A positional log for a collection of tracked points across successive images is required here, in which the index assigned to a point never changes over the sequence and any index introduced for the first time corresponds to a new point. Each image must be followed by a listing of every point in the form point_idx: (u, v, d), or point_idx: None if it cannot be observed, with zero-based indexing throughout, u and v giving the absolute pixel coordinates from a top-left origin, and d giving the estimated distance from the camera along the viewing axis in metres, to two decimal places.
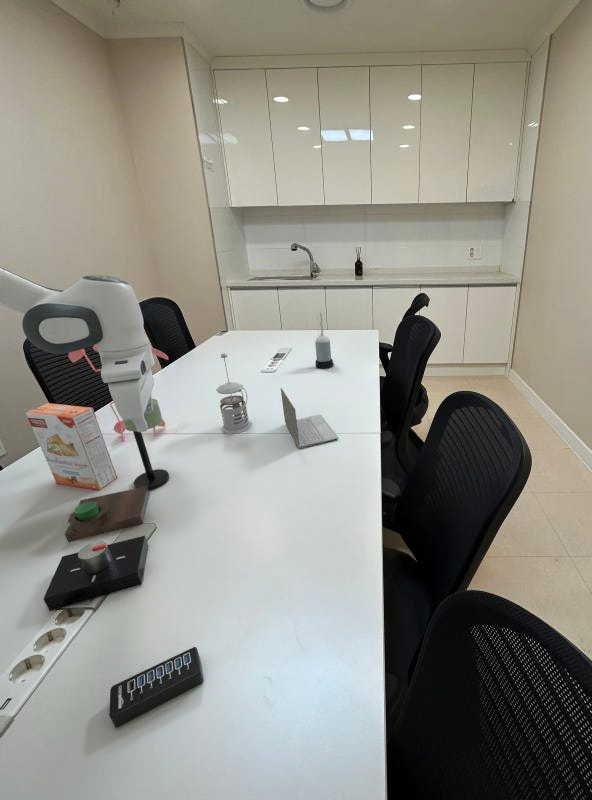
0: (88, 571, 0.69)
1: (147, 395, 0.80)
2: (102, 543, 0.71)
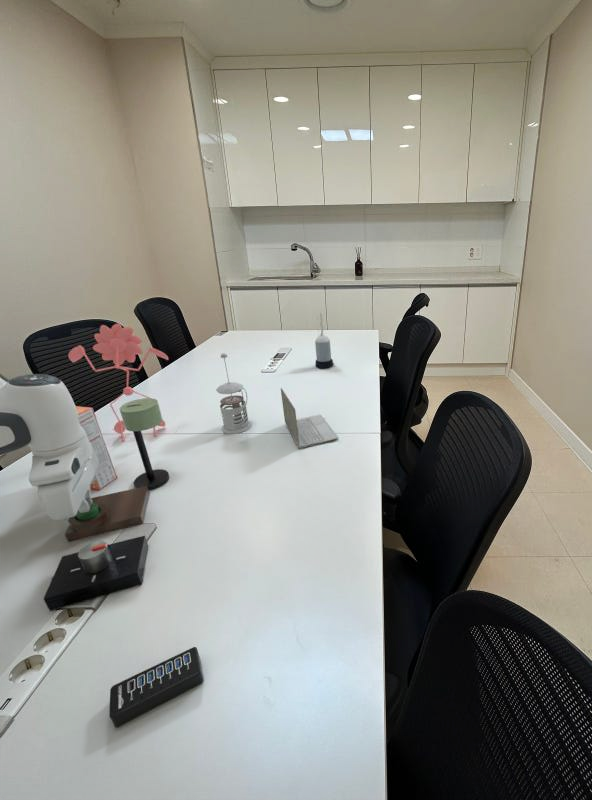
0: (88, 571, 0.69)
1: (85, 486, 0.79)
2: (102, 543, 0.71)
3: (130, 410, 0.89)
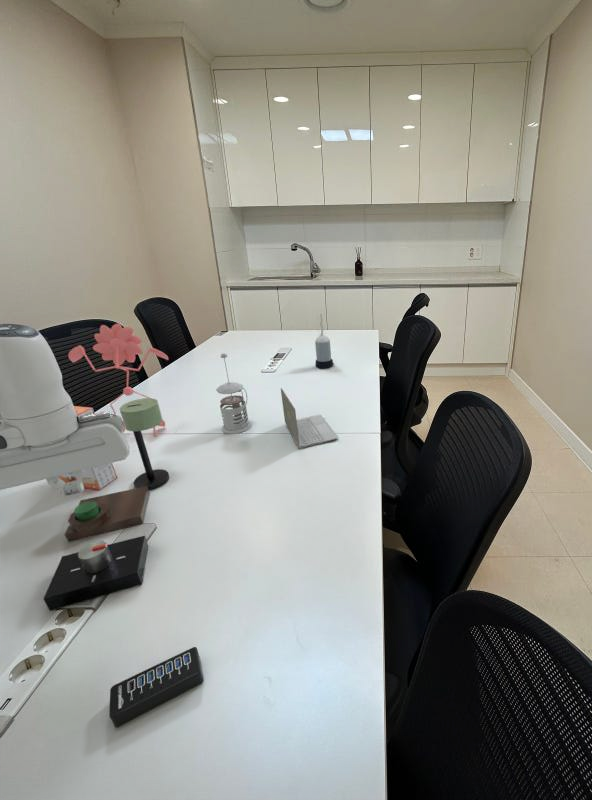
0: (88, 571, 0.69)
1: (49, 470, 0.64)
2: (102, 543, 0.71)
3: (130, 410, 0.89)
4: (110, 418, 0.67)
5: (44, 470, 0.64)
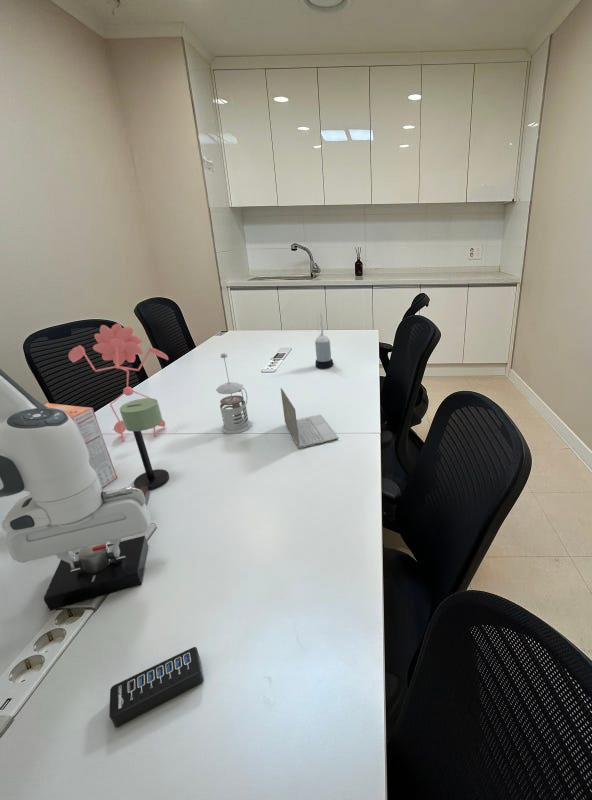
0: (88, 571, 0.69)
1: (73, 543, 0.66)
2: (102, 543, 0.71)
3: (130, 410, 0.89)
4: (132, 493, 0.68)
5: (69, 543, 0.66)
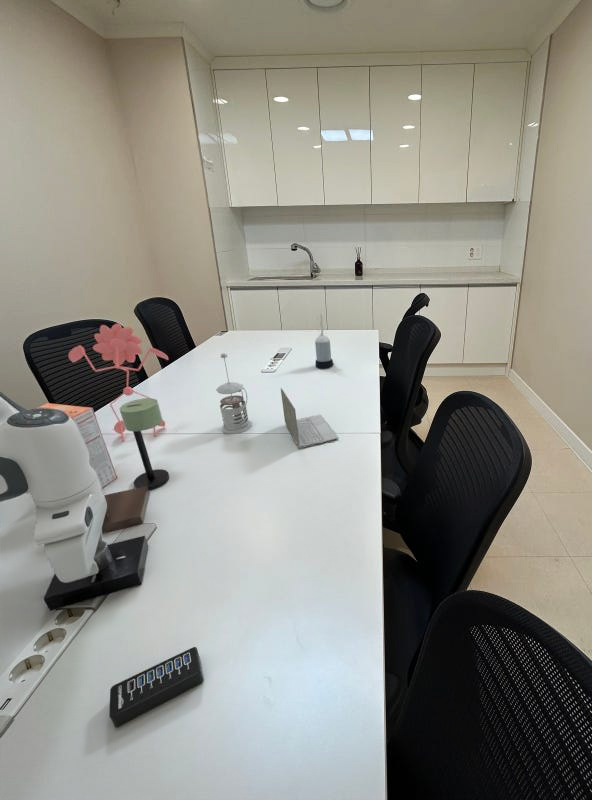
0: (108, 563, 0.71)
1: (96, 536, 0.68)
2: None
3: (130, 410, 0.89)
4: None
5: (95, 537, 0.67)
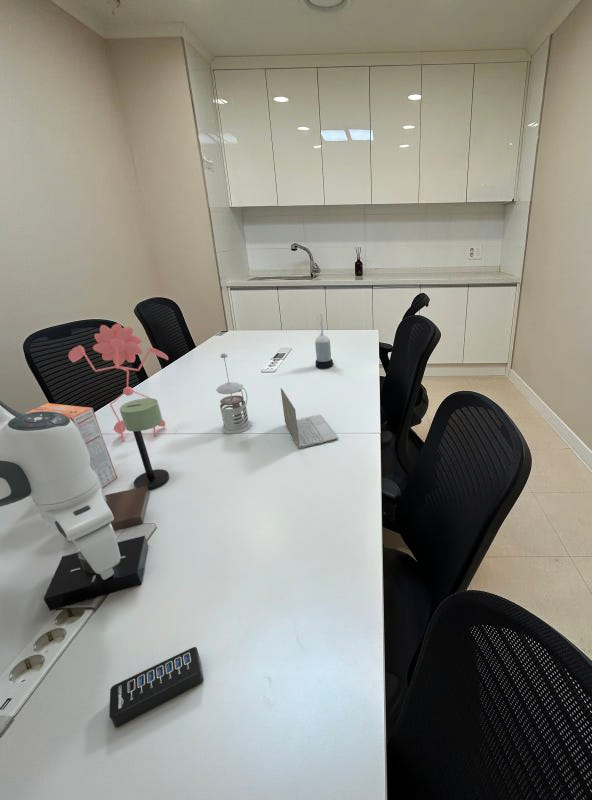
0: None
1: None
2: None
3: (130, 410, 0.89)
4: None
5: None
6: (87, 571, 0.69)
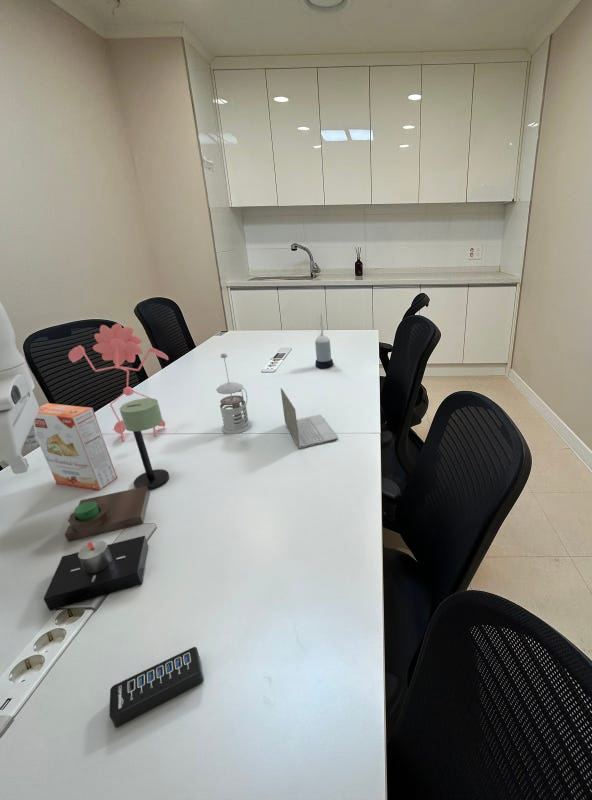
0: (111, 558, 0.72)
1: (26, 427, 0.65)
2: (84, 548, 0.70)
3: (130, 410, 0.89)
4: None
5: (25, 427, 0.64)
6: (87, 571, 0.69)
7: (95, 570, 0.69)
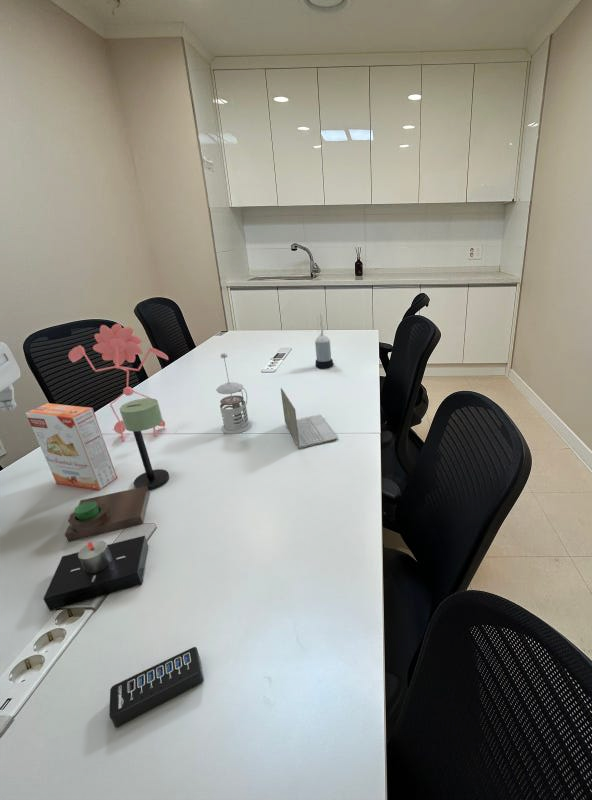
0: (111, 558, 0.72)
1: None
2: (84, 548, 0.70)
3: (130, 410, 0.89)
4: None
5: None
6: (87, 571, 0.69)
7: (95, 570, 0.69)
